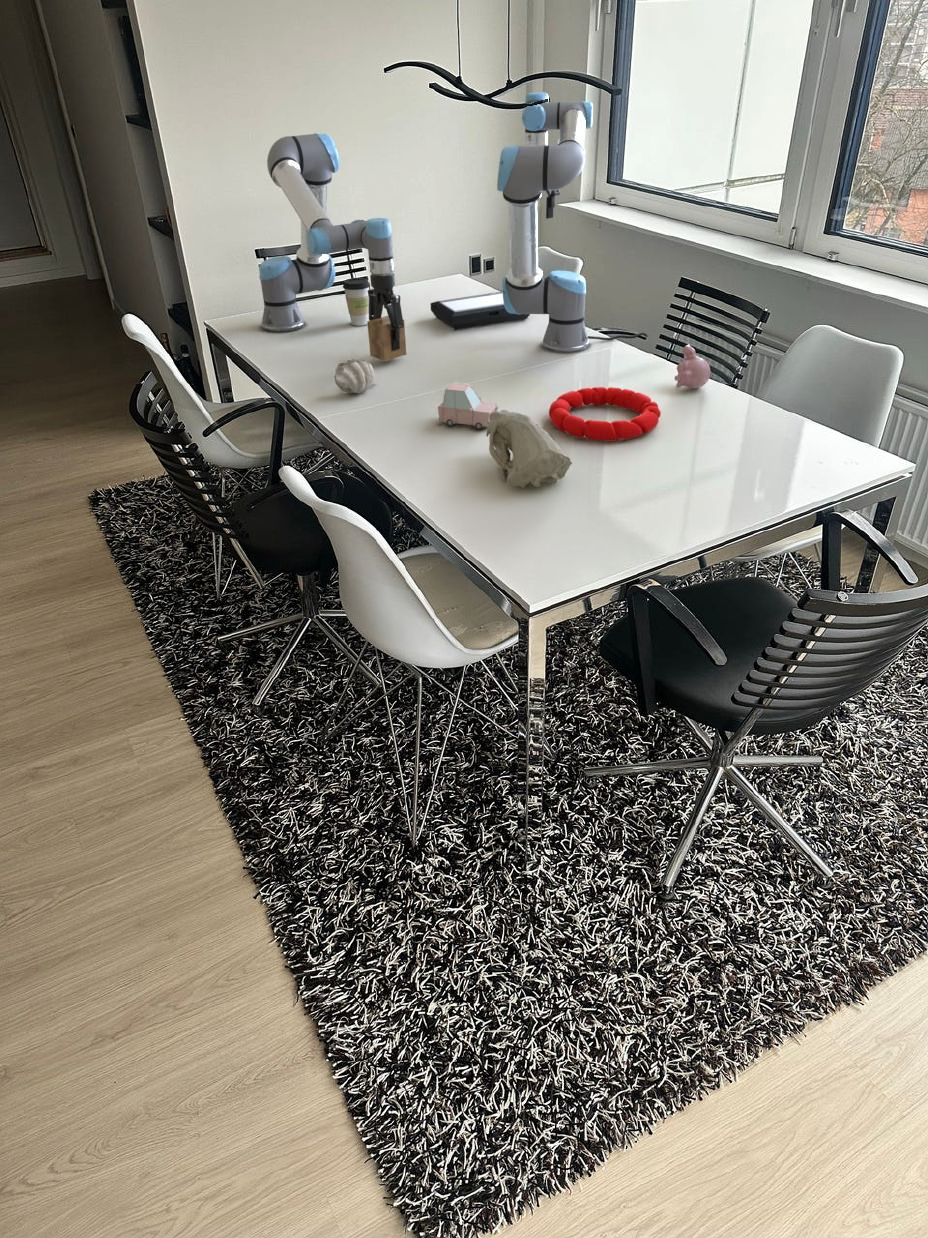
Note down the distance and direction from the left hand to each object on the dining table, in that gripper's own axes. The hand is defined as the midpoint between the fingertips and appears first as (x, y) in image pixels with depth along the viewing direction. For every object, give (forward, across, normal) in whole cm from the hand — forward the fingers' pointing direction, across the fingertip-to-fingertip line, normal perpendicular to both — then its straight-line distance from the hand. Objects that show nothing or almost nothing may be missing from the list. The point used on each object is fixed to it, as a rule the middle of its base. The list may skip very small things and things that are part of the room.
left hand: (387, 346), depth 288 cm
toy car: (+5, +58, -18) cm, 61 cm away
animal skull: (+5, +89, -29) cm, 94 cm away
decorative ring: (+5, +84, +8) cm, 85 cm away
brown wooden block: (+3, 0, 0) cm, 3 cm away
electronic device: (+5, -12, +53) cm, 54 cm away
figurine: (+5, +86, +45) cm, 97 cm away
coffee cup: (+5, -41, +19) cm, 46 cm away
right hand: (-30, +1, +67) cm, 74 cm away
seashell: (+5, +16, -25) cm, 30 cm away
